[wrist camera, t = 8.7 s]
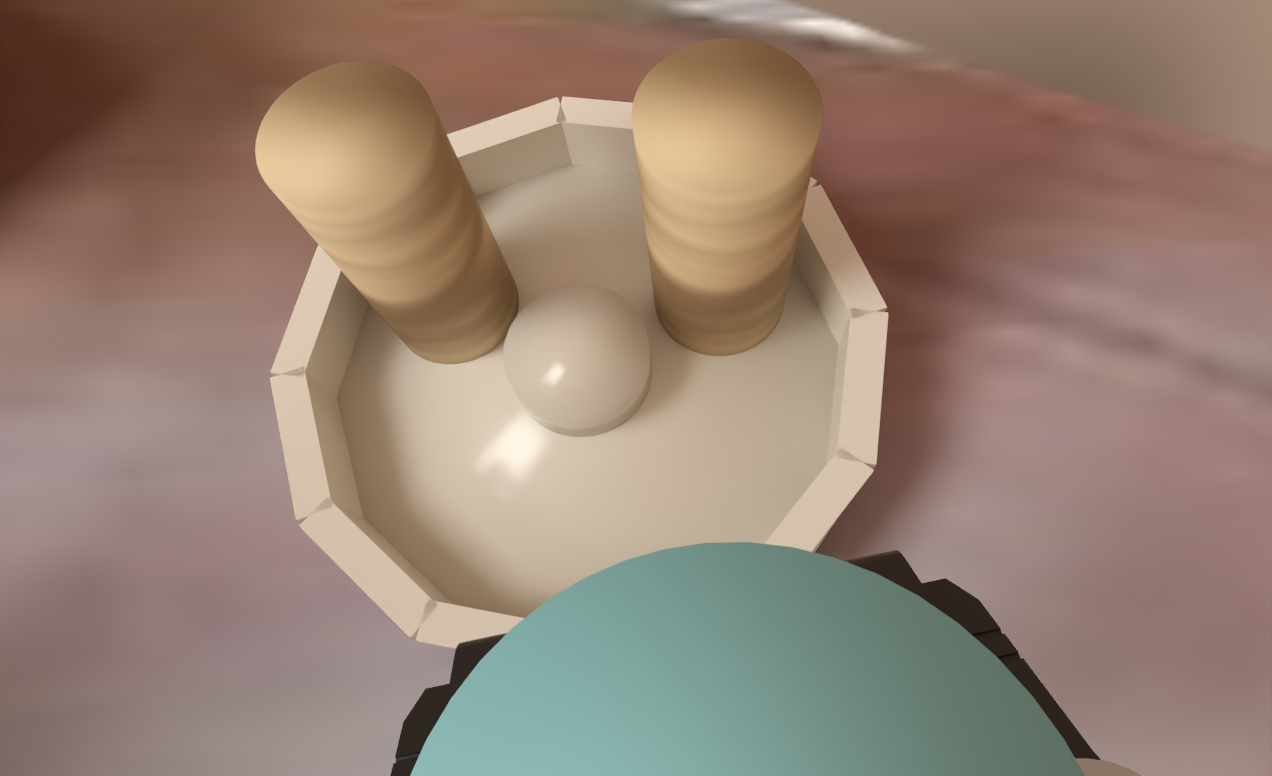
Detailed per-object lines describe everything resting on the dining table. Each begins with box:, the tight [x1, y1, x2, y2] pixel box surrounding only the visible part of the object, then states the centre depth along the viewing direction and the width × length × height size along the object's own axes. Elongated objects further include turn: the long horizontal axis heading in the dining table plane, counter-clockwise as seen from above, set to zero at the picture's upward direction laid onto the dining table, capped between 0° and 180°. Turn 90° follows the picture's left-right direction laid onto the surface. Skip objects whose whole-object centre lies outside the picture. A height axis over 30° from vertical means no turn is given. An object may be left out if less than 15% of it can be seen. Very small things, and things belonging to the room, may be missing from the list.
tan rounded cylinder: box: [255, 61, 519, 364], centre depth 25 cm, size 5×5×10 cm
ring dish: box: [270, 97, 888, 649], centre depth 28 cm, size 20×20×4 cm
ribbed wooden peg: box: [632, 38, 823, 356], centre depth 24 cm, size 5×5×10 cm
